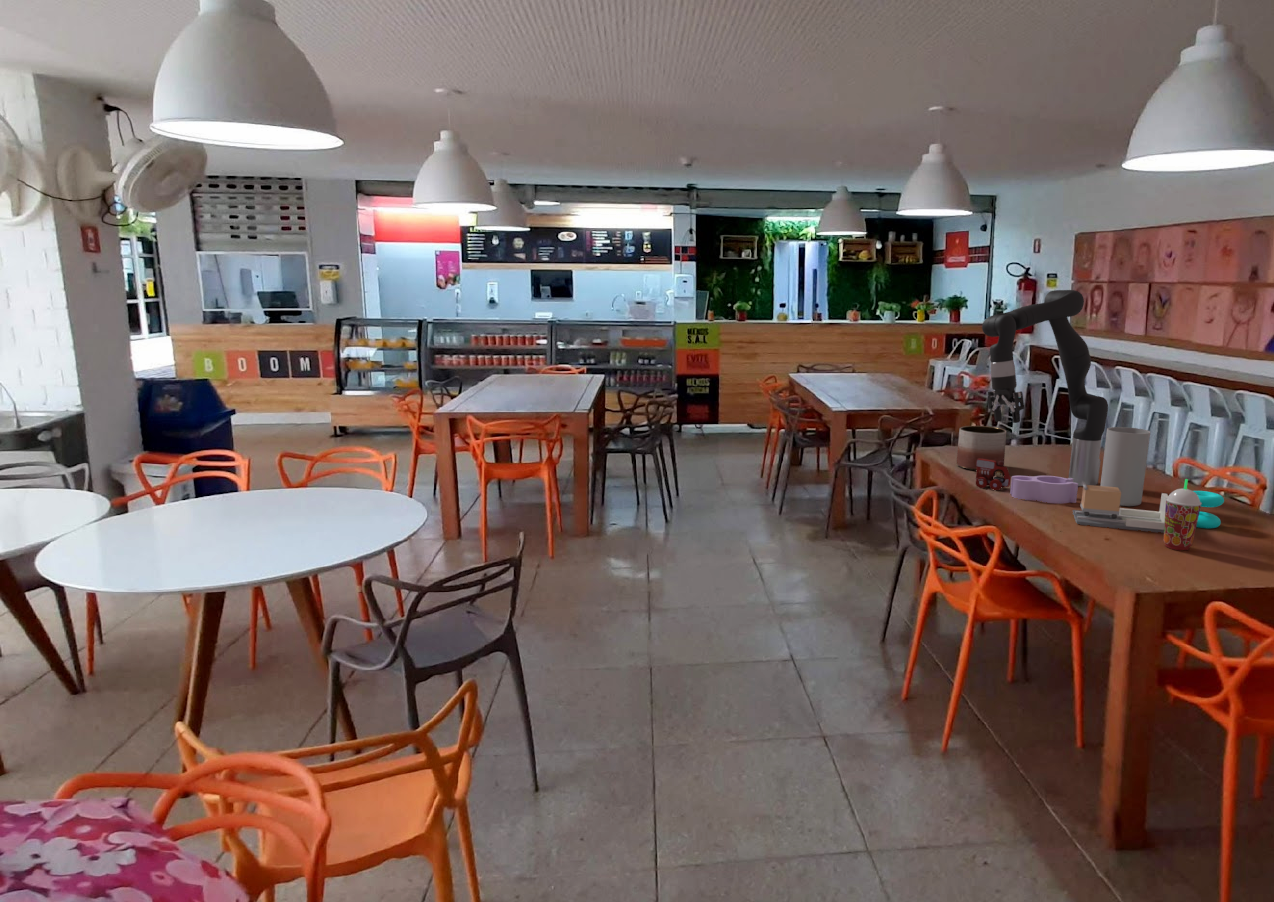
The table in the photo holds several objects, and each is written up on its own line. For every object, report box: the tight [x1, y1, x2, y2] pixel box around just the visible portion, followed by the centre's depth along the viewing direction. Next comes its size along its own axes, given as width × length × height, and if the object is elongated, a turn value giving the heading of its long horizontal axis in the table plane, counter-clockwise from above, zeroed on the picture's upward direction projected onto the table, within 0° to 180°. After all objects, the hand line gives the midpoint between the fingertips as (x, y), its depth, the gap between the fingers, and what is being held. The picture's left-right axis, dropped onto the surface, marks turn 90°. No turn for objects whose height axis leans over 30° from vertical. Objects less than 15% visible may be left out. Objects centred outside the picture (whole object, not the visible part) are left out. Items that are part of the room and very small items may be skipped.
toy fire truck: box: [975, 458, 1012, 491], centre depth 294 cm, size 7×12×10 cm, turn 46°
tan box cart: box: [1079, 481, 1121, 519], centre depth 252 cm, size 8×10×10 cm
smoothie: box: [1163, 478, 1202, 551], centre depth 226 cm, size 8×8×20 cm
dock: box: [1072, 492, 1169, 534], centre depth 250 cm, size 14×25×9 cm, turn 67°
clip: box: [1009, 475, 1079, 505], centre depth 280 cm, size 20×12×7 cm, turn 75°
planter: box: [956, 425, 1007, 472], centre depth 325 cm, size 18×18×16 cm
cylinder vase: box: [1099, 426, 1151, 507], centre depth 272 cm, size 12×12×25 cm
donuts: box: [1192, 490, 1225, 529], centre depth 248 cm, size 10×10×10 cm
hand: (1007, 421), depth 272 cm, fingers open, 8 cm apart
